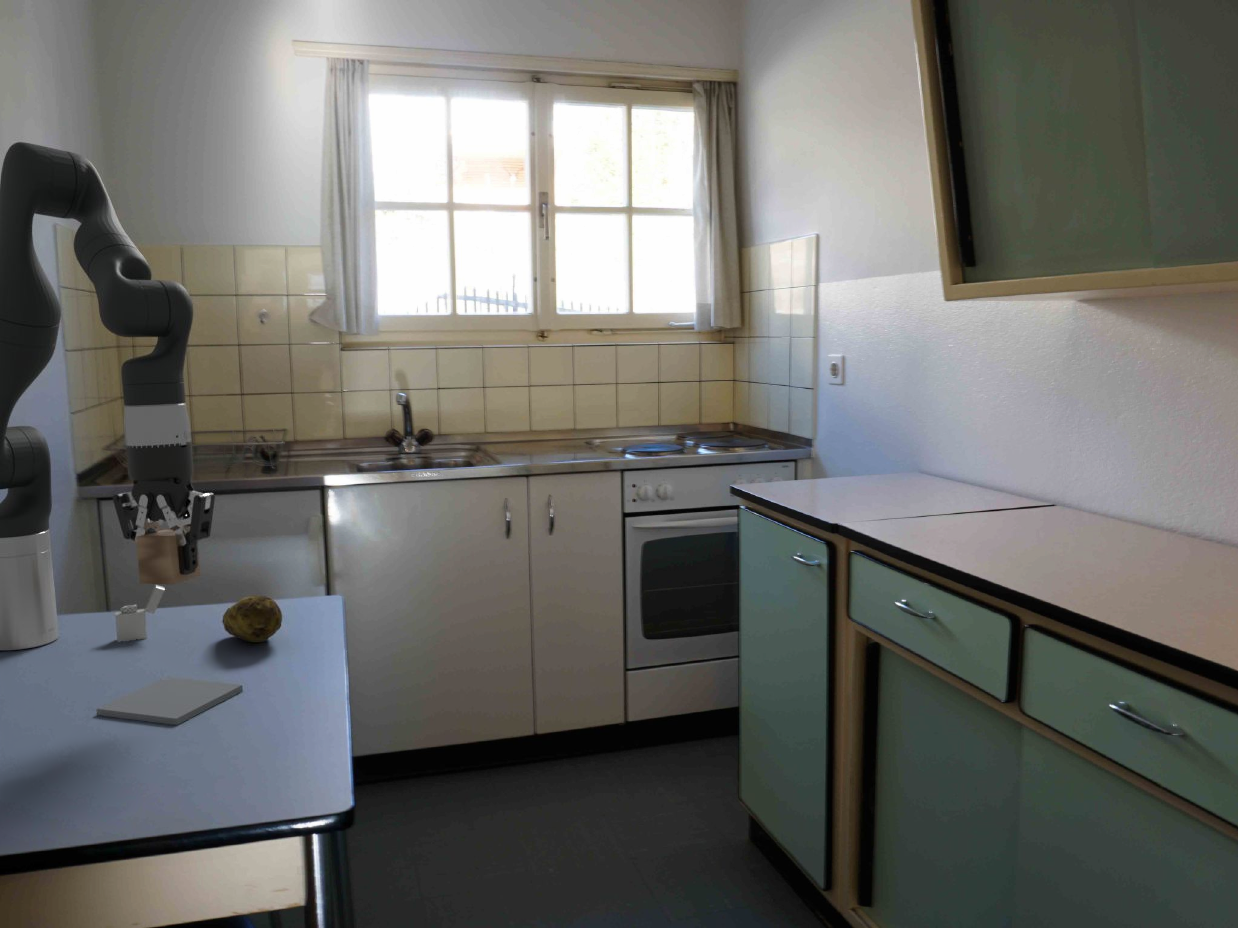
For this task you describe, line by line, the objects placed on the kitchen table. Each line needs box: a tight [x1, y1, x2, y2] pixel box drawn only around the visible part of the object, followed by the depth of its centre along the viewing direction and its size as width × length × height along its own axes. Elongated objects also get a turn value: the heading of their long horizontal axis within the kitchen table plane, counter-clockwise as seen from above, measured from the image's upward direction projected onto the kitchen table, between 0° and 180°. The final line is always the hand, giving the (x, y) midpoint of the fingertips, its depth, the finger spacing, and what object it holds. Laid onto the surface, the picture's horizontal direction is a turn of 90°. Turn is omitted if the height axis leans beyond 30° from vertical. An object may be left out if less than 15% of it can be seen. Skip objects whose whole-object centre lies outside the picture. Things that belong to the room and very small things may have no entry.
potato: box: [221, 595, 283, 643], centre depth 149 cm, size 8×13×8 cm, turn 23°
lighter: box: [115, 584, 166, 643], centre depth 153 cm, size 7×2×8 cm, turn 118°
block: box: [135, 529, 201, 586], centre depth 125 cm, size 5×5×6 cm
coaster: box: [96, 676, 244, 726], centre depth 125 cm, size 12×12×1 cm
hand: (169, 572), depth 125 cm, fingers closed on block, 5 cm apart
